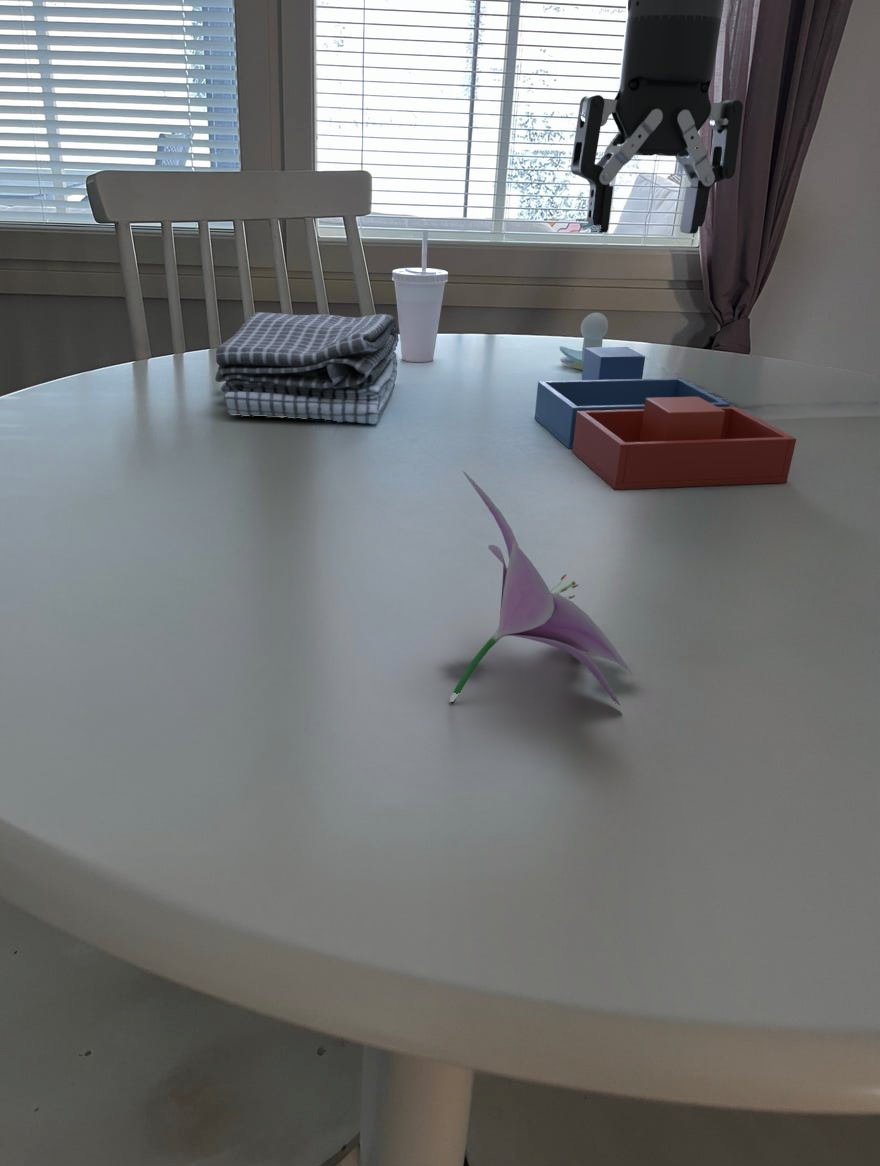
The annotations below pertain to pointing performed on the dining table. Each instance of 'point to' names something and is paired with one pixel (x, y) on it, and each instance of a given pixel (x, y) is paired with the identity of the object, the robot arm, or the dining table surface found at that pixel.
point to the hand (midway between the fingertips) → (644, 232)
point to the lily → (541, 610)
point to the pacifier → (587, 339)
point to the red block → (680, 419)
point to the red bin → (681, 452)
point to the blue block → (612, 364)
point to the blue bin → (604, 399)
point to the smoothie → (419, 307)
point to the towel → (310, 366)
